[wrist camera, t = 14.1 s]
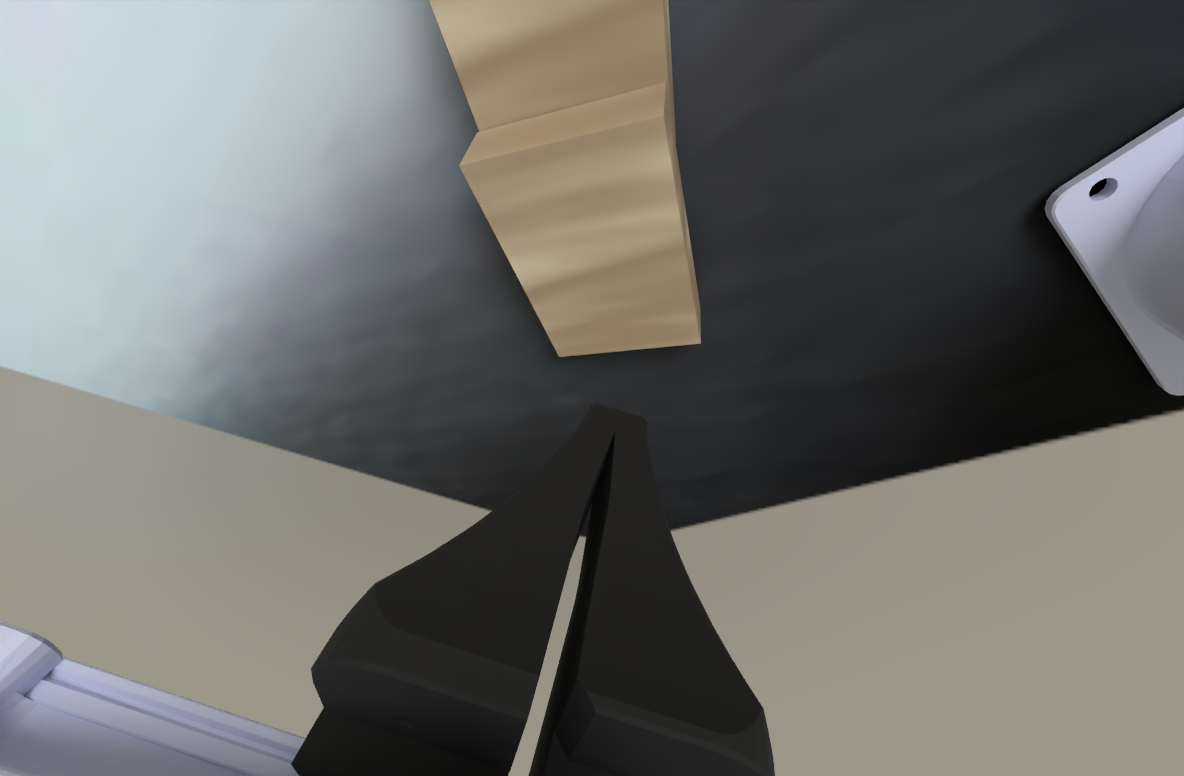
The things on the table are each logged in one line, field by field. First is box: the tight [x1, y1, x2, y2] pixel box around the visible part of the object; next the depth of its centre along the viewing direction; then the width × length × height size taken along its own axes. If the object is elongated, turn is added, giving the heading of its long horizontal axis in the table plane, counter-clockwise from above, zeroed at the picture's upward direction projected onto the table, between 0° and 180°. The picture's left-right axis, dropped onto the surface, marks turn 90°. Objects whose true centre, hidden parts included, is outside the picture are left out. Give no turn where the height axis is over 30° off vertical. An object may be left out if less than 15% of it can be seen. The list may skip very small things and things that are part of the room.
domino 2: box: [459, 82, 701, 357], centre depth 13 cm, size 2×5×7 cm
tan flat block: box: [429, 0, 676, 144], centre depth 10 cm, size 2×5×7 cm
